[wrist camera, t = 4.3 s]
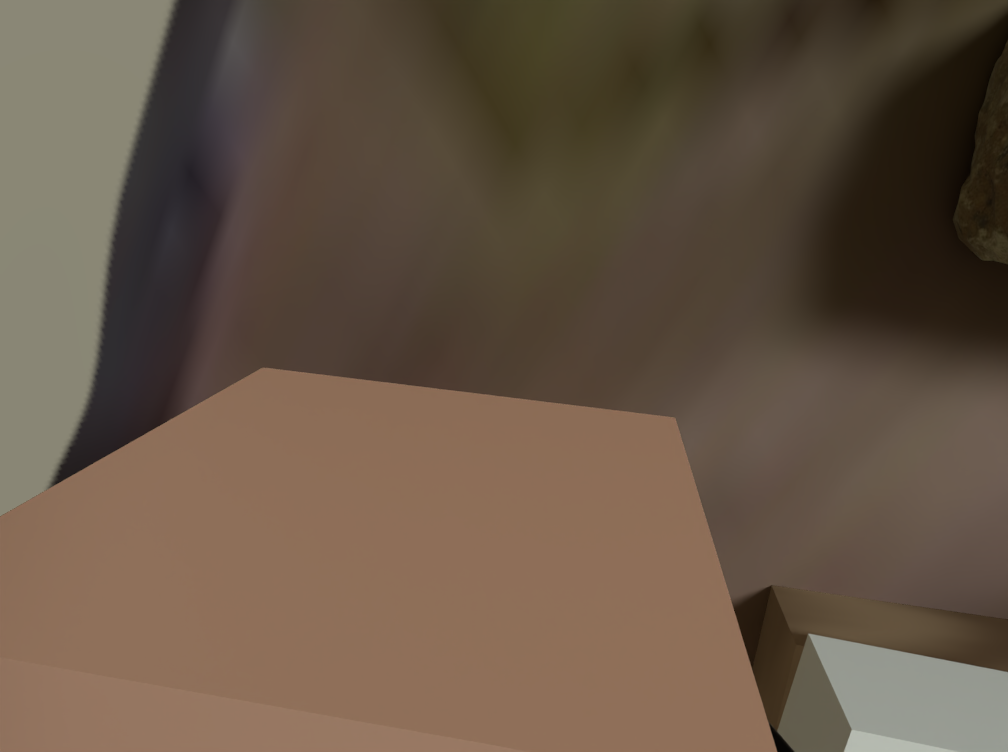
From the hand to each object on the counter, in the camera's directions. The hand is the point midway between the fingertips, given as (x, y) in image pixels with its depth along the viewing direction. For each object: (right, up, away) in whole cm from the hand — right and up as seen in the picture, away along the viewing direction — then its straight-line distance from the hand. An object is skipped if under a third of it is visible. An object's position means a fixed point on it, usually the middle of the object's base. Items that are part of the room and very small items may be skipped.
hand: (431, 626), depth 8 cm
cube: (0, 0, +1) cm, 1 cm away
